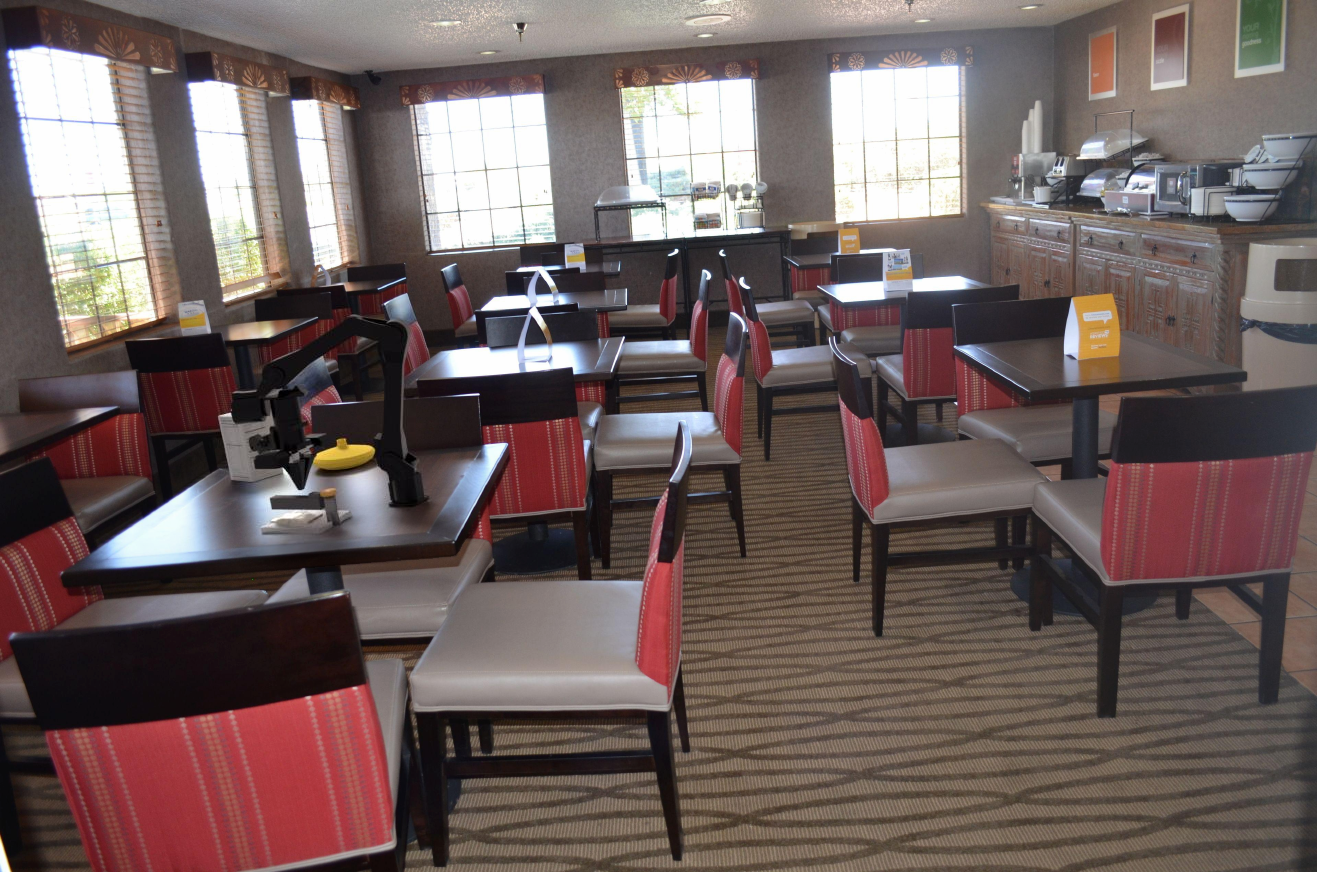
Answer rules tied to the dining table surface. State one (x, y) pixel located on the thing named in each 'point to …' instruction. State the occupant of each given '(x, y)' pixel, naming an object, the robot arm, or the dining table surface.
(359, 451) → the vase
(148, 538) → the dining table surface
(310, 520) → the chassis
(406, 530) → the dining table surface
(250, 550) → the dining table surface
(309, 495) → the bar
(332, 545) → the dining table surface
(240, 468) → the supplement box
